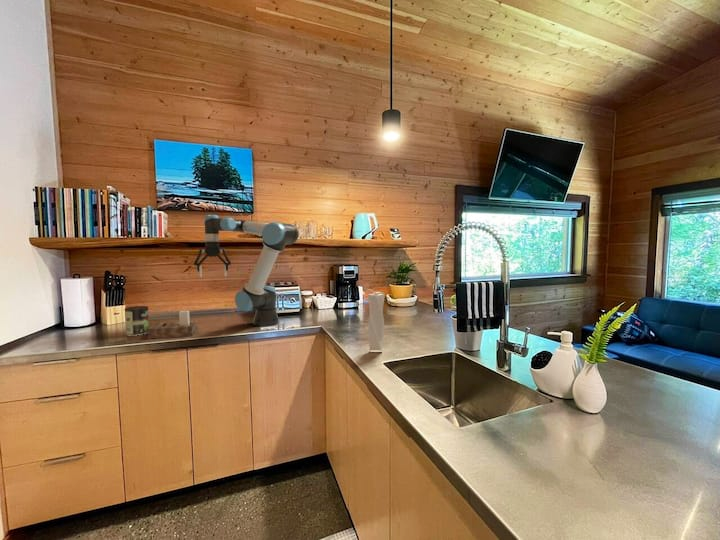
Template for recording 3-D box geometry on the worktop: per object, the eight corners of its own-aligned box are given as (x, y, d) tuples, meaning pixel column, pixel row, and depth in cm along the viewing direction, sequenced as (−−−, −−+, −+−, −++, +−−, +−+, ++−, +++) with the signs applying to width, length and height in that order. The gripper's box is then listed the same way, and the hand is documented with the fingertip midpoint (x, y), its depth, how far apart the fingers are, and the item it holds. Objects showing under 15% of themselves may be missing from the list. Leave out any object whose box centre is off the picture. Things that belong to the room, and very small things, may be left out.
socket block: (197, 329, 180) (197, 320, 179) (192, 336, 166) (192, 326, 166) (157, 332, 174) (157, 322, 174) (148, 338, 161) (147, 329, 160)
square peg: (189, 332, 174) (189, 310, 173) (188, 334, 170) (187, 311, 169) (181, 332, 173) (181, 310, 172) (179, 334, 169) (179, 312, 168)
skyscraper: (366, 353, 139) (367, 289, 137) (366, 348, 147) (366, 287, 145) (385, 353, 139) (385, 289, 137) (383, 348, 147) (384, 287, 145)
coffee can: (152, 330, 176) (151, 305, 176) (143, 335, 166) (142, 309, 165) (132, 331, 175) (131, 306, 174) (121, 336, 165) (120, 309, 164)
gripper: (235, 241, 198) (235, 275, 199) (190, 241, 190) (191, 276, 192) (234, 241, 191) (234, 276, 192) (187, 240, 183) (188, 277, 185)
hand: (213, 276), depth 192 cm, fingers open, 13 cm apart
